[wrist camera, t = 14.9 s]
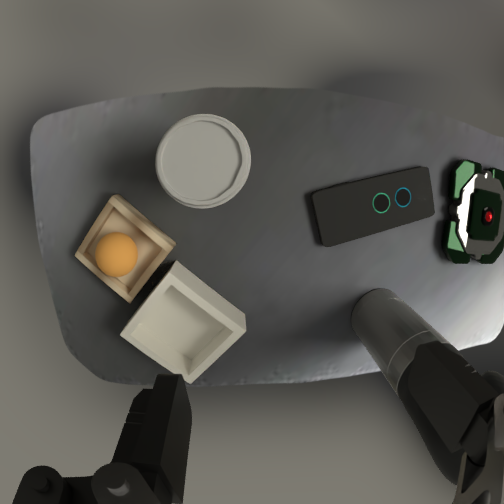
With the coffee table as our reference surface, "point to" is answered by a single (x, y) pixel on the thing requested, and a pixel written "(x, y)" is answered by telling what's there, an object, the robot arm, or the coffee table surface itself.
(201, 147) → the disposable coffee cup
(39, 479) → the robot arm
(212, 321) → the white square bin
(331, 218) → the smart home device
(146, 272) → the tray
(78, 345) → the coffee table surface
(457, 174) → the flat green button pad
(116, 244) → the ball
